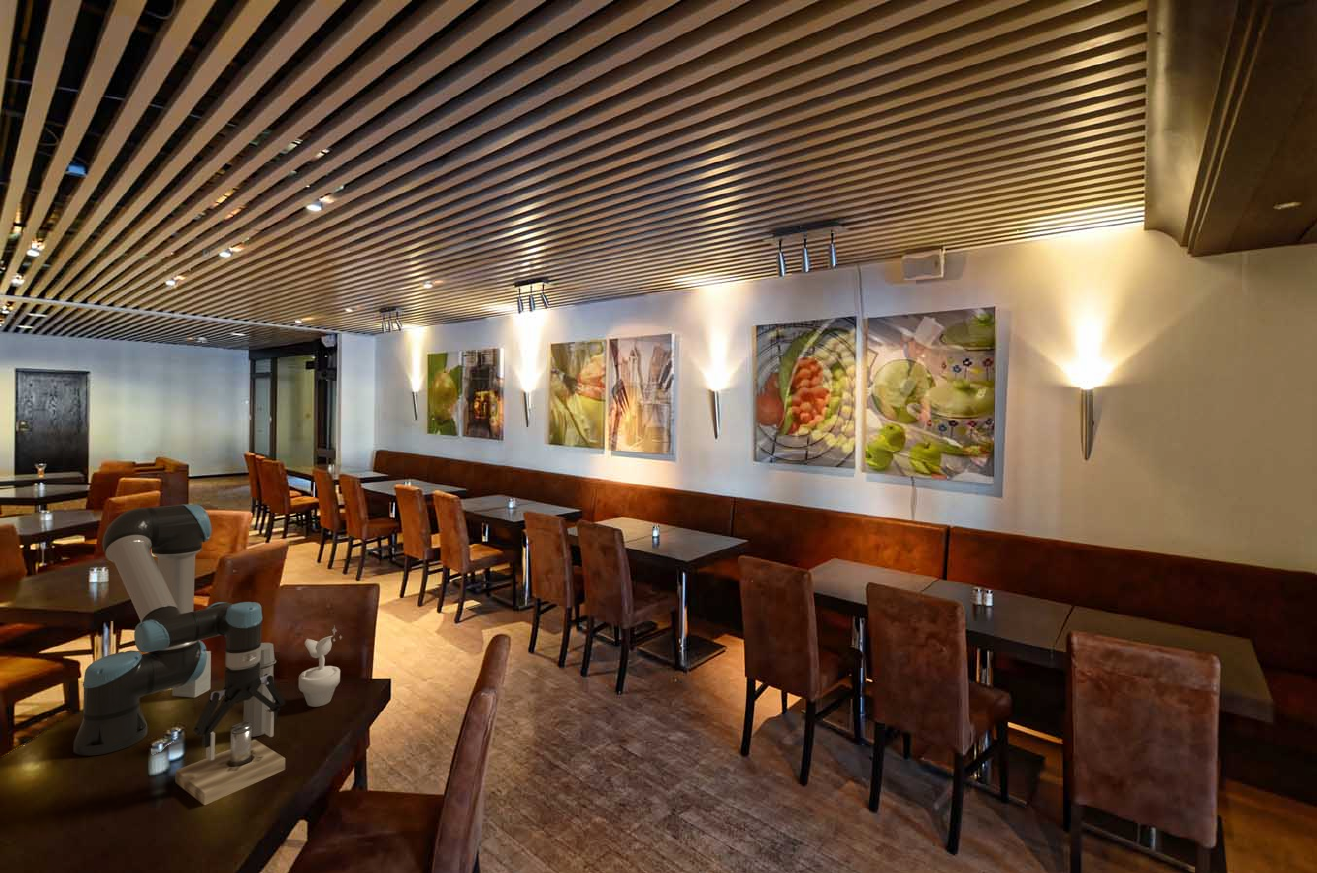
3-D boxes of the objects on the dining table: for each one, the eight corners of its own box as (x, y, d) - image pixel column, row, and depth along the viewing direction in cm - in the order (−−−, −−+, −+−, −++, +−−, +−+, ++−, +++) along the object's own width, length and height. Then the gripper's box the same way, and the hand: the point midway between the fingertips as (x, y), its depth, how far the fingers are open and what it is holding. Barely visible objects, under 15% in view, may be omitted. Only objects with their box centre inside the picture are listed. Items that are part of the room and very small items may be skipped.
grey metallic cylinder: (226, 773, 153) (227, 727, 153) (245, 765, 157) (246, 720, 157) (234, 779, 151) (235, 732, 151) (253, 771, 155) (254, 725, 155)
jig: (175, 782, 149) (175, 770, 149) (254, 750, 164) (254, 739, 164) (204, 805, 140) (204, 793, 140) (285, 769, 156) (285, 758, 156)
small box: (210, 689, 199) (211, 650, 199) (194, 698, 193) (195, 658, 192) (188, 687, 200) (189, 649, 200) (171, 696, 193) (172, 656, 193)
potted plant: (346, 701, 194) (349, 624, 194) (310, 715, 185) (312, 634, 184) (325, 690, 201) (327, 617, 201) (289, 703, 191) (291, 626, 191)
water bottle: (258, 740, 169) (260, 652, 169) (234, 736, 171) (237, 649, 170) (284, 724, 178) (286, 641, 178) (262, 721, 180) (264, 638, 179)
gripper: (191, 685, 141) (189, 774, 141) (300, 653, 162) (298, 730, 163) (178, 677, 145) (176, 763, 145) (286, 647, 166) (284, 722, 167)
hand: (240, 746), depth 154 cm, fingers open, 13 cm apart
